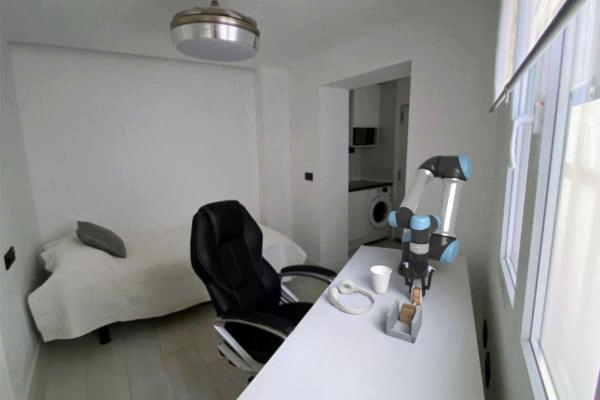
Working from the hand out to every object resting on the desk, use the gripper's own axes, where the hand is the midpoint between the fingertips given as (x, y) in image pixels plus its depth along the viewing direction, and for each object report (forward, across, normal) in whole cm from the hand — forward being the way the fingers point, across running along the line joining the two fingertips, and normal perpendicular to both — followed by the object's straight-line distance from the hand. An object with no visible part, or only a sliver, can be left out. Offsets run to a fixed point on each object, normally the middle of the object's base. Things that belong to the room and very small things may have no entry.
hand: (416, 301), depth 133 cm
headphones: (+1, -25, -14) cm, 29 cm away
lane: (+1, 0, -22) cm, 22 cm away
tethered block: (+1, 0, -9) cm, 9 cm away
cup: (+1, -17, +2) cm, 17 cm away
